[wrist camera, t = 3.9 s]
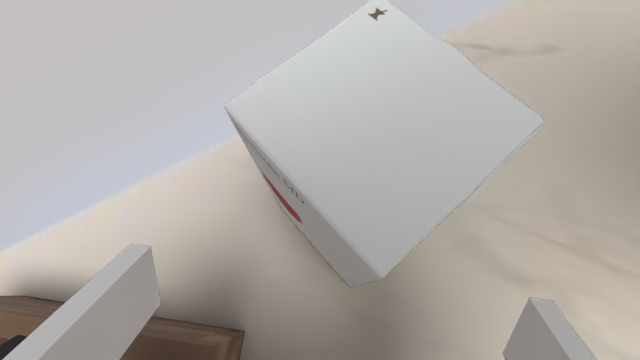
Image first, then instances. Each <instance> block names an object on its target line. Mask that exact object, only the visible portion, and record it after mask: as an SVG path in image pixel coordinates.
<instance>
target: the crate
mask: <svg viewBox="0 0 640 360" xmlns="http://www.w3.org/2000/svg"><path fill="white" fill-rule="evenodd" d="M64 303H65V302H59V301H52V300H46V299H40V298H34V297H27V296H0V345H1V344H3V343H5V342H6V341H8V340H10V339H11V338H13V337H15V336H16V335H24V336H29V335H30V334H31V333H32V332H33V331H34V330H36V329H37V328H38V327H39V326H40V325H41V324H42V323H43V322H44V321H46V320H47V319H48V318H49V317H50V316H51V315H52V314H53V313H54V312H55V311H57V310H58V309H59V308H60V307H61V306H62V305H63V304H64ZM244 332H245V331H239V330H233V329H226V328H220V327H214V326H208V325H201V324H195V323H189V322H183V321H177V320H170V319H164V318H158V317H152V316H151V318H150V319H149V320H148V322H147V323H146V324H145V326H144V327H143V328H142V330H141V331H140V332H139V334H138V335H137V336H136V338H135V339H134V340H133V342H132V343H131V345H130V346H129V347H128V349H127V350H126V351H125V353H124V354H123V355H122V357H121V358H120V359H119V360H239V357H240V352H241V347H242V342H243V337H244Z"/></svg>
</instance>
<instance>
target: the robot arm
mask: <svg viewBox="0 0 640 360" xmlns="http://www.w3.org/2000/svg"><path fill="white" fill-rule="evenodd" d="M160 304H161V300H160V295H159V289H158V284H157V278H156V273H155V267H154V262H153V256H152V251H151V246H144V245H136V244H130V245H128V246H127V247H126V248H125V249H124V250H123V251H122V252H121V253H120V254H118V255H117V256H116V257H115V258H114V259H113V260H112V261H111V262H110V263H109V264H107V265H106V266H105V267H104V268H103V269H102V270H101V271H100V272H99V273H97V274H96V275H95V276H94V277H93V278H92V279H91V280H90V281H89V282H88V283H86V284H85V285H84V286H83V287H82V288H81V289H80V290H79V291H78V292H76V293H75V294H74V295H73V296H72V297H71V298H70V299H69V300H68V301H67V302H65V303H64V304H63V305H62V306H61V307H60V308H59V309H58V310H57V311H55V312H54V313H53V314H52V315H51V316H50V317H49V318H48V319H47V320H46V321H44V322H43V323H42V324H41V325H40V326H39V327H38V328H37V329H36V330H34V331H33V332H32V333H31V334H30V335H29V336H24V335H16V336H15V337H13V338H11V339H10V340H8V341H6V342H5V343H3V344H1V345H0V360H119V359H120V358H121V357H122V355H123V354H124V353H125V351H126V350H127V349H128V347H129V346H130V345H131V343H132V342H133V340H134V339H135V338H136V336H137V335H138V334H139V332H140V331H141V330H142V328H143V327H144V326H145V324H146V323H147V322H148V320H149V319H150V318H151V316H152V315H153V314H154V312H155V311H156V309H157V308H158V307H159V305H160ZM503 356H504V358H505V360H597V359H596V357H595V356H594V355H593V353H592V352H591V351H590V349H589V348H588V347H587V345H586V344H585V343H584V341H583V340H582V339H581V337H580V336H579V335H578V333H577V332H576V331H575V329H574V328H573V327H572V325H571V324H570V323H569V321H568V320H567V318H566V317H565V316H564V314H563V313H562V312H561V310H560V309H559V308H558V306H557V305H556V304H555V302H554V301H552V300H544V299H537V298H530V297H529V299H528V301H527V303H526V305H525V307H524V309H523V312H522V314H521V316H520V318H519V320H518V322H517V324H516V326H515V328H514V331H513V333H512V335H511V337H510V339H509V341H508V343H507V345H506V347H505V350H504V352H503Z"/></svg>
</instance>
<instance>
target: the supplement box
mask: <svg viewBox="0 0 640 360" xmlns="http://www.w3.org/2000/svg"><path fill="white" fill-rule="evenodd" d="M225 109H226V111H227V113H228V115H229V117H230V119H231V121H232V122H233V124H234V126H235V128H236V130H237V131H238V133H239V135H240V137H241V138H242V140H243V142H244V144H245V146H246V147H247V149H248V151H249V153H250V155H251V156H252V158H253V160H254V162H255V163H256V165H257V167H258V169H259V170H260V172H261V174H262V176H263V178H264V179H265V181H266V183H267V185H268V186H269V188H270V190H271V192H272V194H273V195H274V197H275V199H276V201H277V203H278V205H279V206H280V208H281V209H282V210H283V211H284V213H285V214H286V215H287V216H288V217H289V218H290V220H291V221H292V222H293V223H294V224H295V225H296V226H297V228H298V229H299V230H300V231H301V232H302V233H303V235H304V236H305V237H306V238H307V239H308V240H309V241H310V243H311V244H312V245H313V246H314V247H315V248H316V250H317V251H318V252H319V253H320V254H321V255H322V256H323V258H324V259H325V260H326V261H327V262H328V263H329V264H330V266H331V267H332V268H333V269H334V270H335V271H336V272H337V274H338V275H339V276H340V277H341V278H342V279H343V280H344V281H345V283H346V284H347V285H348V286H350V287H353V286H357V285H361V284H364V283H368V282H373V281H376V280H380V279H384V278H385V277H386V276H387V275H388V273H389V272H390V271H391V270H392V269H393V268H394V267H395V266H396V265H397V264H398V263H399V262H400V261H401V260H402V259H403V258H404V257H406V256H407V255H408V254H409V253H410V252H411V251H412V250H413V249H414V248H415V247H416V246H417V245H418V244H419V243H420V242H421V241H422V240H423V239H425V238H426V237H427V236H428V235H429V234H430V233H431V232H432V231H433V230H434V229H435V228H436V227H437V226H438V225H439V224H440V223H441V222H443V221H444V220H445V219H446V218H447V217H448V216H449V215H450V214H451V213H452V212H453V211H454V210H455V209H456V208H457V207H458V206H460V205H461V204H462V203H463V202H464V201H465V200H466V199H467V198H468V197H469V196H470V195H471V194H472V193H473V192H474V191H475V190H476V189H477V188H478V187H480V186H481V185H482V184H483V183H484V182H485V181H486V180H487V179H488V178H489V177H490V176H491V175H492V174H493V173H495V172H496V171H497V170H498V169H499V168H500V167H501V166H502V165H503V164H504V163H505V162H506V161H507V160H509V159H510V158H511V157H512V156H513V155H514V154H515V153H516V152H517V151H518V150H519V149H520V148H521V147H522V146H523V145H524V144H525V143H527V142H528V141H529V140H530V139H531V138H532V137H533V136H534V135H535V134H536V133H537V132H538V131H539V130H540V129H541V128H542V127H543V126H544V125H545V123H546V122H545V120H544V119H543V118H542V117H541V116H540V115H539V114H537V113H536V112H535V111H533V110H532V109H531V108H529V107H528V106H527V105H525V104H524V103H523V102H521V101H520V100H519V99H517V98H516V97H515V96H513V95H512V94H511V93H509V92H508V91H507V90H505V89H504V88H503V87H501V86H500V85H499V84H498V83H496V82H495V81H494V80H492V79H491V78H490V77H488V76H487V75H486V74H484V73H483V72H482V71H480V70H479V69H478V68H476V67H475V66H474V65H473V63H472V62H471V61H470V60H469V59H468V58H467V57H466V56H465V55H464V54H463V53H462V52H460V51H459V50H458V49H456V48H455V47H454V46H452V45H450V44H449V43H447V42H445V41H444V40H442V39H440V38H438V37H436V36H434V35H433V34H432V33H430V32H429V31H428V30H426V29H425V28H424V27H422V26H421V25H420V24H418V23H417V22H416V21H415V20H413V19H412V18H411V17H409V16H408V15H407V14H405V13H404V12H403V11H401V10H400V9H399V8H398V7H397V6H395V5H394V4H393V3H391V2H390V1H389V0H370V1H369V2H368V3H366V4H365V5H364V6H362V7H361V8H360V9H358V10H357V11H356V12H354V13H353V14H352V15H350V16H349V17H347V18H346V19H345V20H343V21H342V22H340V23H339V24H338V25H336V26H335V27H333V28H332V29H331V30H329V31H328V32H327V33H325V34H324V35H322V36H321V37H320V38H318V39H317V40H315V41H314V42H313V43H311V44H310V45H308V46H307V47H305V48H304V49H303V50H301V51H300V52H298V53H297V54H295V55H294V56H292V57H291V58H289V59H288V60H287V61H285V62H284V63H282V64H281V65H279V66H278V67H276V68H275V69H273V70H272V71H270V72H269V73H268V74H266V75H264V76H263V77H261V78H260V79H259V80H257V81H256V82H254V83H253V84H252V85H250V86H249V87H248V88H246V89H245V90H244V91H243V92H241V93H240V94H239V95H237V96H236V97H235V98H233V99H232V100H230V101H229V102H228V103H227V104H226V105H225Z"/></svg>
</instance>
